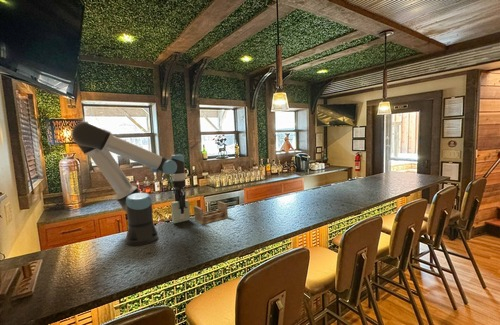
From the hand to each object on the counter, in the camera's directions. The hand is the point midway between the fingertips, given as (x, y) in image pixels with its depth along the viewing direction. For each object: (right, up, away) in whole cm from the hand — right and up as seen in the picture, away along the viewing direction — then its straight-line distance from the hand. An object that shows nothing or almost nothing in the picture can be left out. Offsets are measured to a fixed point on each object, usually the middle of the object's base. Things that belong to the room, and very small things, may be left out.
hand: (181, 217), depth 153 cm
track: (+18, -1, +3) cm, 18 cm away
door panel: (0, -2, 0) cm, 2 cm away
